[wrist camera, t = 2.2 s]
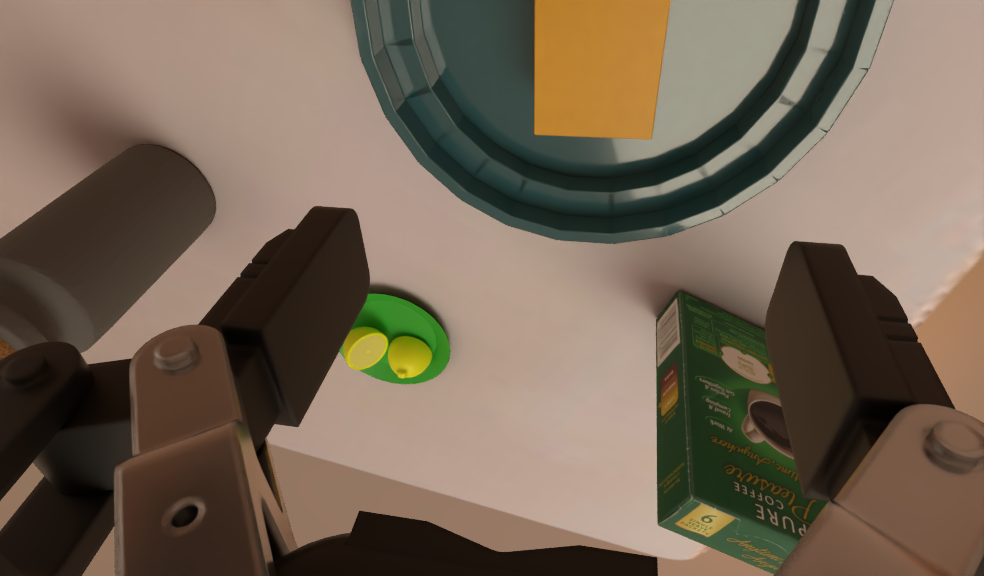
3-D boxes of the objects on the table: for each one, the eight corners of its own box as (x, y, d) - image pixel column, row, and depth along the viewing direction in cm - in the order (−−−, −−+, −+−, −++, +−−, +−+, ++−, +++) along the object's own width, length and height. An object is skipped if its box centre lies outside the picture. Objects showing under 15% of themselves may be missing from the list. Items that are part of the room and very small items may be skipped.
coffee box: (646, 317, 34) (652, 532, 24) (675, 284, 33) (694, 501, 23) (766, 372, 35) (819, 600, 25) (801, 342, 33) (873, 575, 24)
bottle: (234, 195, 34) (35, 398, 23) (191, 247, 37) (-2, 448, 26) (141, 121, 32) (-129, 304, 21) (104, 183, 35) (-147, 371, 24)
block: (547, -100, 22) (534, -83, 19) (675, -103, 22) (682, -86, 19) (544, 96, 27) (533, 135, 24) (649, 100, 26) (651, 140, 23)
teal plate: (332, -304, 20) (293, -316, 18) (976, -357, 17) (1029, -381, 15) (407, 197, 32) (390, 229, 30) (789, 221, 29) (803, 257, 27)
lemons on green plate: (340, 366, 42) (325, 397, 40) (325, 278, 37) (306, 308, 35) (452, 385, 41) (442, 418, 39) (452, 297, 36) (441, 329, 34)
